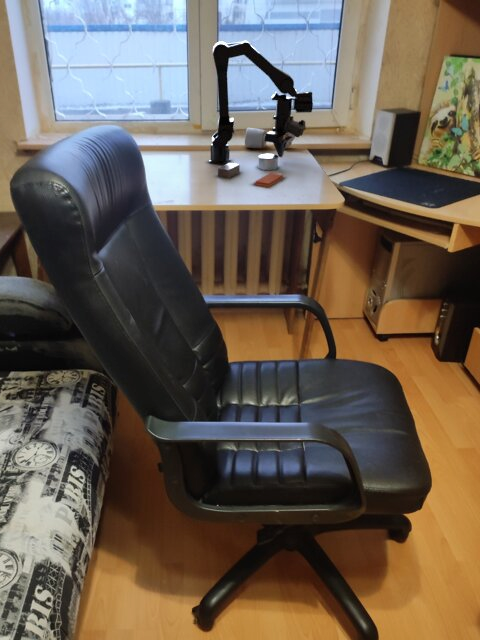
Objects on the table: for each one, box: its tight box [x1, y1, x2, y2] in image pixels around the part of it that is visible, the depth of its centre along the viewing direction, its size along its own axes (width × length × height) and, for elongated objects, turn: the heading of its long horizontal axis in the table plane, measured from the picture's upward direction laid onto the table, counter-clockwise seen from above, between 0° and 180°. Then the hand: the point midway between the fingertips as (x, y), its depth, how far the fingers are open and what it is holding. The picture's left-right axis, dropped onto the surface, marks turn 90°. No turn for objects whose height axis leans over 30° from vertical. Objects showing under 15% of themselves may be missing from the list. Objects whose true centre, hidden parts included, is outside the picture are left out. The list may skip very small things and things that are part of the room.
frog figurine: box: [285, 133, 296, 150], centre depth 225 cm, size 6×7×7 cm
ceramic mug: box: [244, 127, 268, 149], centre depth 228 cm, size 11×8×8 cm
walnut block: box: [217, 162, 241, 179], centre depth 198 cm, size 4×8×3 cm, turn 147°
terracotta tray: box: [253, 172, 284, 188], centre depth 192 cm, size 6×12×1 cm, turn 147°
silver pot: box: [257, 153, 279, 171], centre depth 205 cm, size 7×7×4 cm
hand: (280, 156), depth 212 cm, fingers closed
